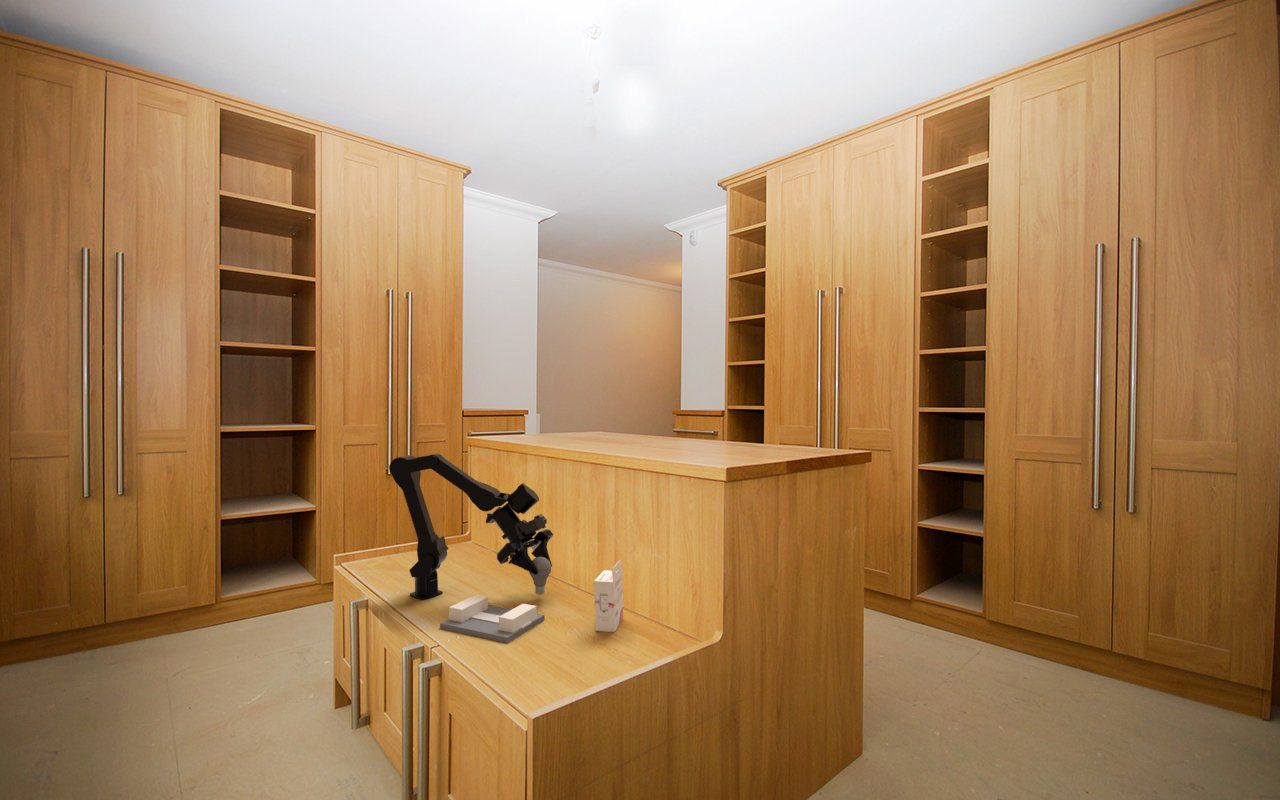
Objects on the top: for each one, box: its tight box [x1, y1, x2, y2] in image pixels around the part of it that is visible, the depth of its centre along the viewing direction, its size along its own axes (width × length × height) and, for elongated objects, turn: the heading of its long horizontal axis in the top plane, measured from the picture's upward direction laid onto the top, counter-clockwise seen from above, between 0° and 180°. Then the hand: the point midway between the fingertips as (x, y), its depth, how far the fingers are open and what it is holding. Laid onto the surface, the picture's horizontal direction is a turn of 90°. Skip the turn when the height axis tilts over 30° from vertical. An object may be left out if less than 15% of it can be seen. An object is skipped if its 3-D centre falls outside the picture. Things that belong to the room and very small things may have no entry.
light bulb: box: [528, 557, 552, 596], centre depth 149 cm, size 6×6×10 cm
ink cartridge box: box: [593, 558, 624, 633], centre depth 131 cm, size 9×5×15 cm, turn 168°
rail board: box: [439, 594, 546, 644], centre depth 133 cm, size 20×14×4 cm
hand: (544, 570), depth 148 cm, fingers closed on light bulb, 6 cm apart
